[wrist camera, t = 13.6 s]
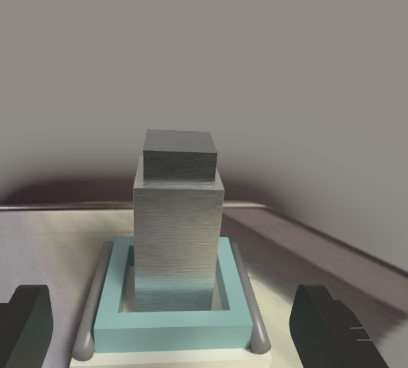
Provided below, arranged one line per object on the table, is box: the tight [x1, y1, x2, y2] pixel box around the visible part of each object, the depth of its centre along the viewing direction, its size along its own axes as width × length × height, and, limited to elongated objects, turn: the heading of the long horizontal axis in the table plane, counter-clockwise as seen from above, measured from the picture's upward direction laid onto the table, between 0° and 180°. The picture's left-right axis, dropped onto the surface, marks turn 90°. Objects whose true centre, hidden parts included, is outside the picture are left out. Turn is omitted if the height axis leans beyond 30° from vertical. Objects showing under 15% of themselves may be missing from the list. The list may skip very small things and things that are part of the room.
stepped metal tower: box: [133, 129, 224, 312], centre depth 23 cm, size 5×5×12 cm
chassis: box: [70, 237, 272, 368], centre depth 25 cm, size 12×11×3 cm
